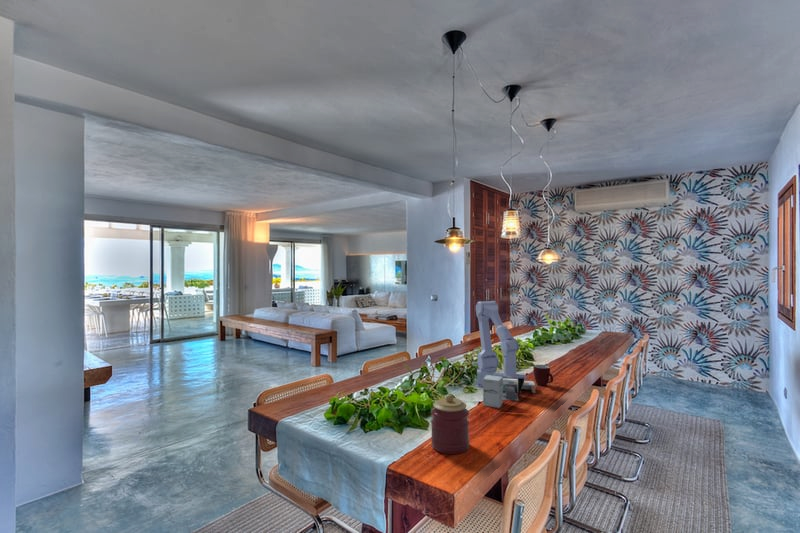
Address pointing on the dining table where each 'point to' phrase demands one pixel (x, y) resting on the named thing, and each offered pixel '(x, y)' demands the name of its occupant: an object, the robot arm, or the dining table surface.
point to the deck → (510, 399)
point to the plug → (510, 392)
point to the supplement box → (492, 391)
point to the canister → (450, 426)
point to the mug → (542, 374)
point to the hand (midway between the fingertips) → (510, 394)
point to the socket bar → (515, 384)
